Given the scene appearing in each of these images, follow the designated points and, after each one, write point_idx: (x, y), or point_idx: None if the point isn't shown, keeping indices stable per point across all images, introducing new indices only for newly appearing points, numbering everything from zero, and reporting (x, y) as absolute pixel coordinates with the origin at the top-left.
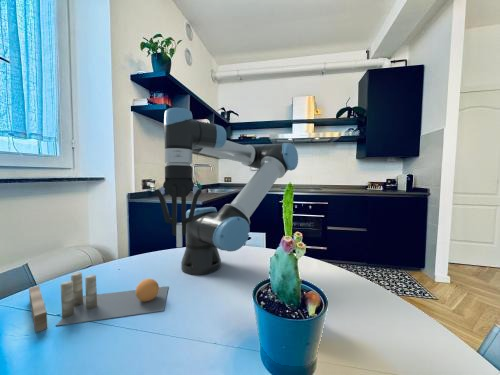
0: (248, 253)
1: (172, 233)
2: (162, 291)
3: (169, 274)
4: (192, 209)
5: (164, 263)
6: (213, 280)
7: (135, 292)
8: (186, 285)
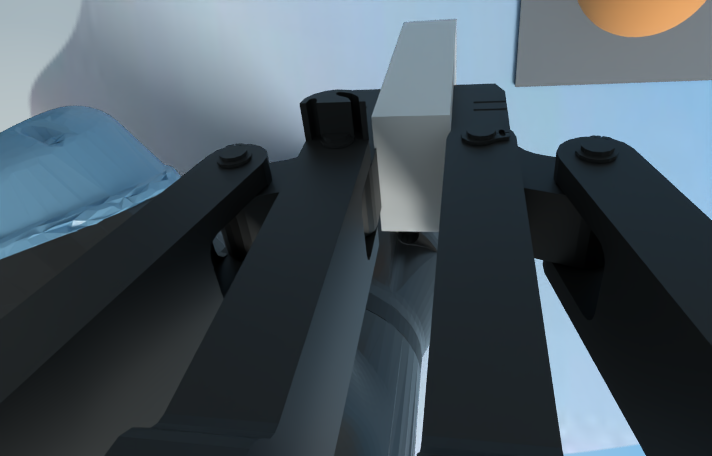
0: None
1: (503, 93)
2: (546, 33)
3: None
4: (118, 258)
5: None
6: (279, 107)
7: (700, 51)
8: None
